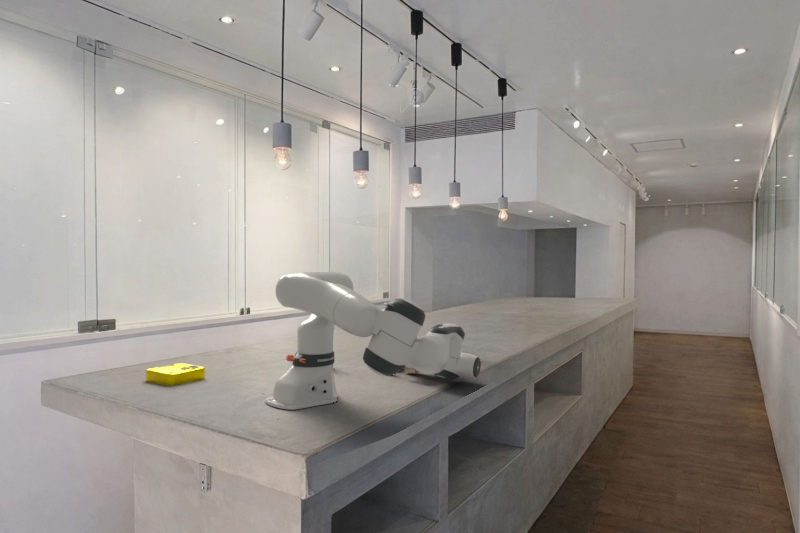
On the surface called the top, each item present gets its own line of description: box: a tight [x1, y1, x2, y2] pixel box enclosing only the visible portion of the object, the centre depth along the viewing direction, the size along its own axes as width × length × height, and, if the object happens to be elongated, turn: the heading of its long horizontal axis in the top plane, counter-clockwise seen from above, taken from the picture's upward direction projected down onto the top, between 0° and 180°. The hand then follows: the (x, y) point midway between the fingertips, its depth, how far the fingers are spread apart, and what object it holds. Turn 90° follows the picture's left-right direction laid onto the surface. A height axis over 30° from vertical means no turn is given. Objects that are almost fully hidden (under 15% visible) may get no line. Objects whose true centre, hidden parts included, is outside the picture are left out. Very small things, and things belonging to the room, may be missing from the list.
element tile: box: [145, 362, 206, 387], centre depth 190 cm, size 15×15×5 cm
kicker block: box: [403, 366, 420, 374], centre depth 202 cm, size 4×5×10 cm
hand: (410, 356), depth 203 cm, fingers closed on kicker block, 4 cm apart
